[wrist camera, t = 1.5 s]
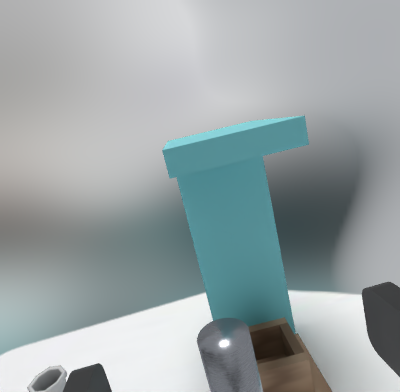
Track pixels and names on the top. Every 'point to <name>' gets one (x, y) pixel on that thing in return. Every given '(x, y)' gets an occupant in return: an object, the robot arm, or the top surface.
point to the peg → (229, 356)
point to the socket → (284, 359)
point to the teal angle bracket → (236, 215)
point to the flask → (49, 380)
